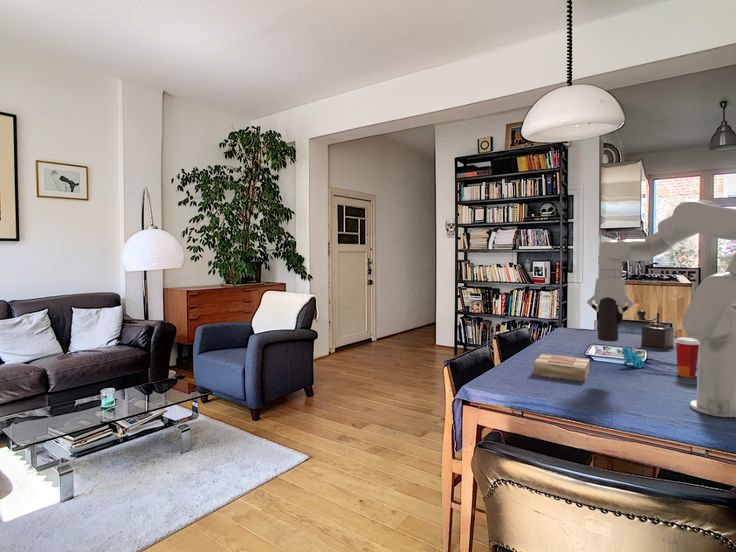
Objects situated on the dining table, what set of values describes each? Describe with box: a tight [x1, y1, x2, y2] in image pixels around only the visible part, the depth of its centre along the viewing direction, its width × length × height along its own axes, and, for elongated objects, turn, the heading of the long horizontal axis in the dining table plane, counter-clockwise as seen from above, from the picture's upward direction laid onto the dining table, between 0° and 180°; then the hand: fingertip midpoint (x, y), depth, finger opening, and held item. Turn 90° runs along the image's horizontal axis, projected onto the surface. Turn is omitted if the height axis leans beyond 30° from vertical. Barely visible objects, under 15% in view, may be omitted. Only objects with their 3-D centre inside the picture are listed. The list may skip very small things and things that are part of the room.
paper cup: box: [674, 337, 700, 378], centre depth 171 cm, size 8×8×14 cm
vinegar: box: [597, 297, 619, 343], centre depth 166 cm, size 7×7×20 cm
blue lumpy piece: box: [621, 346, 645, 369], centre depth 186 cm, size 11×6×10 cm
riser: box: [533, 353, 591, 383], centre depth 176 cm, size 16×18×5 cm
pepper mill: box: [636, 309, 674, 349], centre depth 221 cm, size 16×11×18 cm
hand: (609, 322), depth 166 cm, fingers closed on vinegar, 5 cm apart
